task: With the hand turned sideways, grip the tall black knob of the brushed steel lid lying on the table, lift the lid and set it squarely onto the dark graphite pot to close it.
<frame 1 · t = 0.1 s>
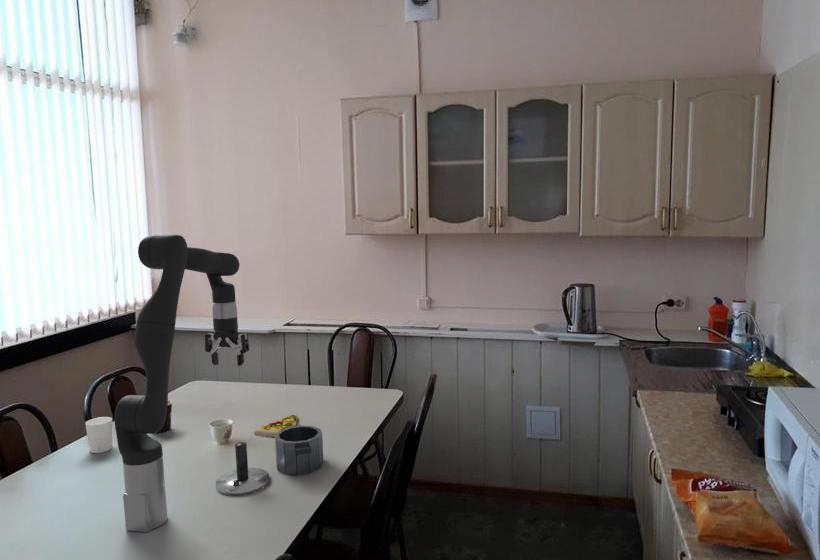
hand: (228, 365, 190), 29 cm above the table, tool pointing down, fingers open, 8 cm apart
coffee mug: (163, 429, 215), on the table
pizza slice: (284, 428, 215), on the table
white cup: (101, 449, 198), on the table
pot: (300, 464, 182), on the table
lid: (243, 483, 171), on the table
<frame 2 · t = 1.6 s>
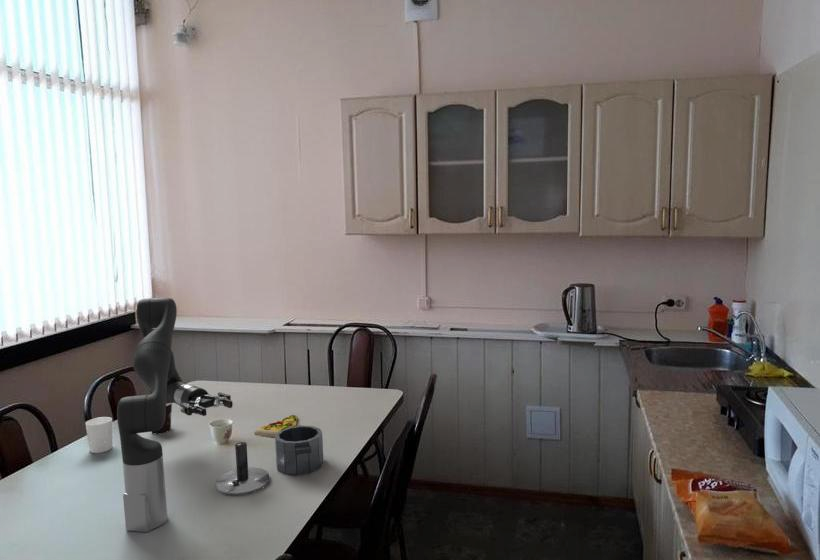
hand: (218, 408, 175), 20 cm above the table, tool horizontal, fingers open, 8 cm apart
nothing on the table moved.
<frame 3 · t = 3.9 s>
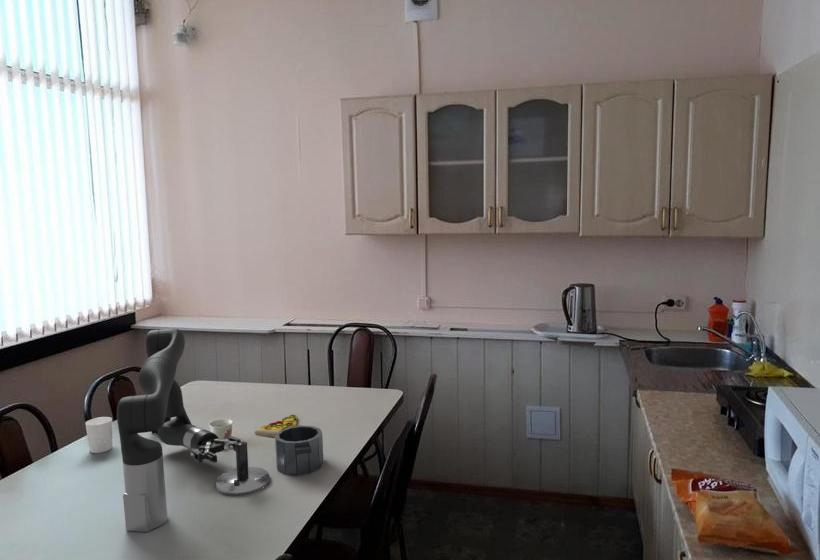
hand: (229, 454, 174), 7 cm above the table, tool horizontal, fingers open, 8 cm apart
nothing on the table moved.
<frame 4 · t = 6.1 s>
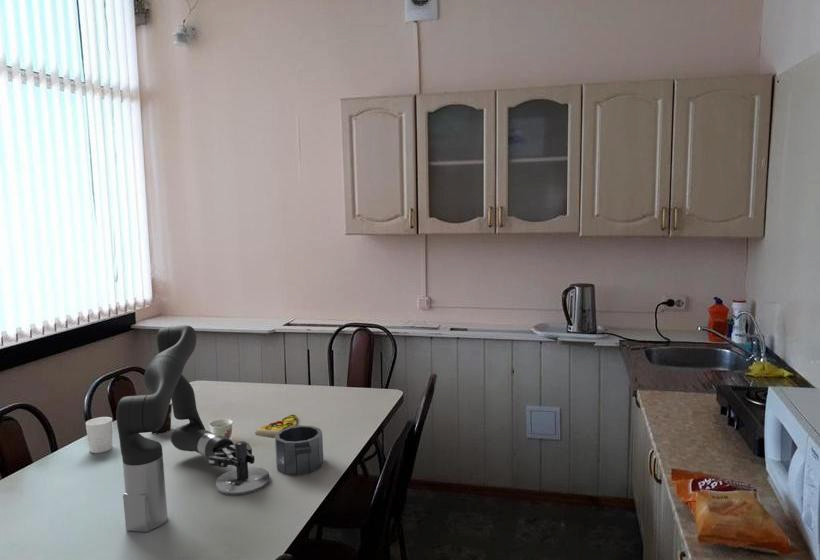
hand: (247, 462, 168), 7 cm above the table, tool horizontal, fingers closed on lid, 3 cm apart
lid: (243, 483, 171), on the table, touching gripper
everything else where it was.
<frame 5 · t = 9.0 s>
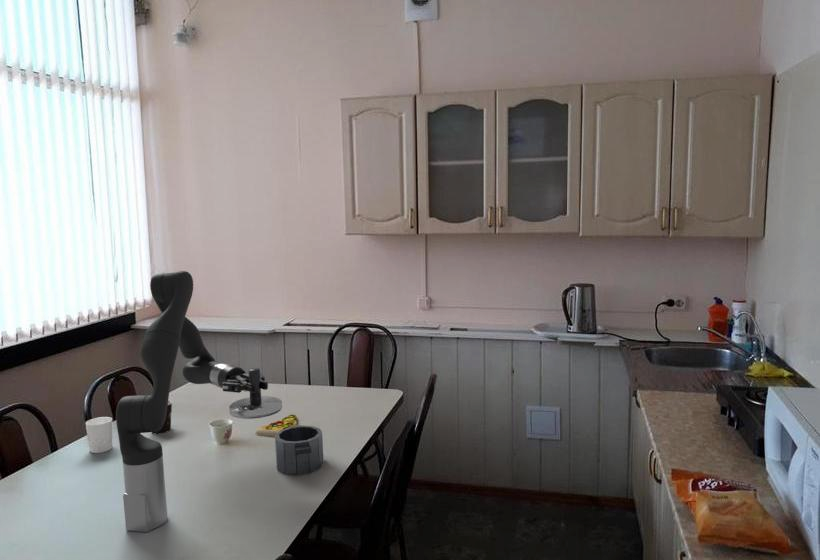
hand: (261, 387, 169), 28 cm above the table, tool horizontal, fingers closed on lid, 3 cm apart
lid: (256, 409, 172), point 21 cm above the table, touching gripper
everything else where it was.
when the fingers open (18 cm above the table, at t = 11.9 s): lid stays where it is, resting on pot.
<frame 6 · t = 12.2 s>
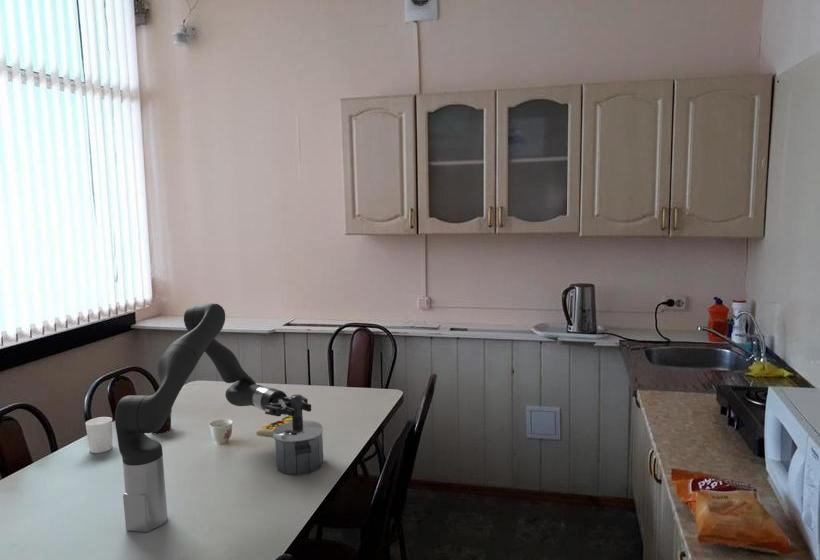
hand: (302, 410, 178), 18 cm above the table, tool horizontal, fingers open, 5 cm apart
lid: (298, 433, 181), point 10 cm above the table, touching pot
everything else where it was.
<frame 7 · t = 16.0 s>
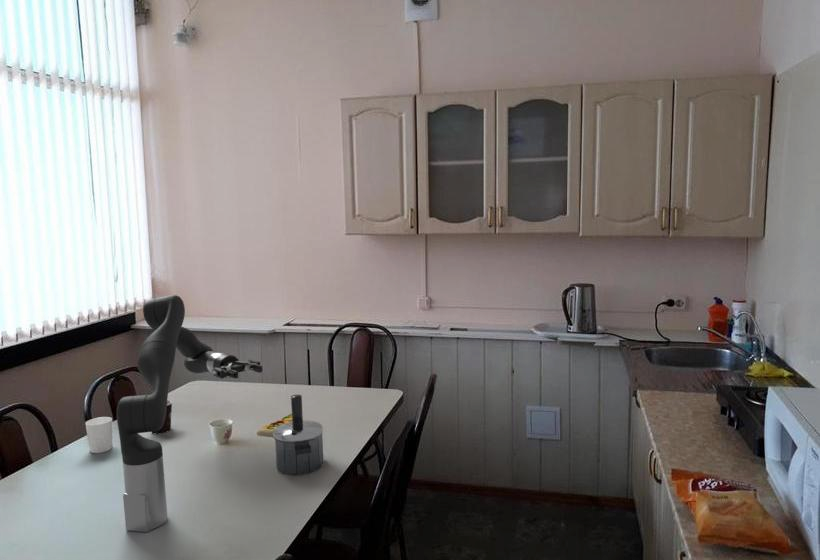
hand: (249, 372, 184), 28 cm above the table, tool horizontal, fingers open, 8 cm apart
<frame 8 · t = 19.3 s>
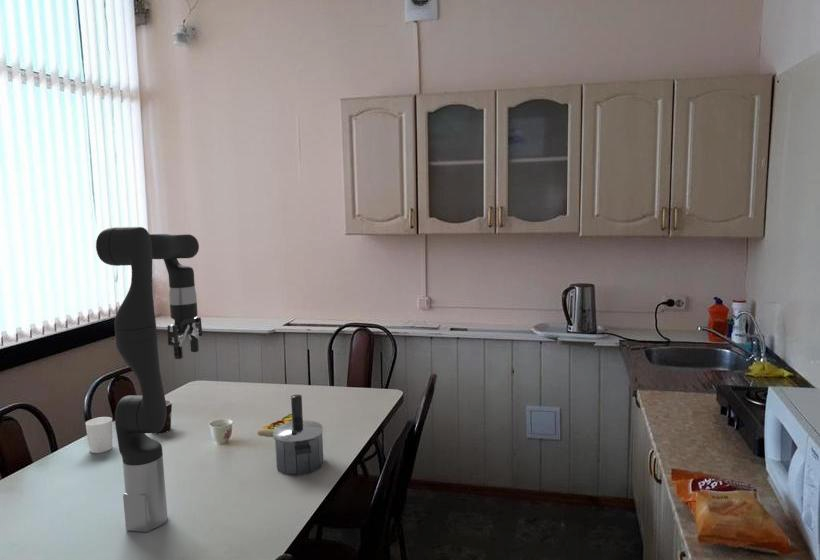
hand: (187, 355, 176), 36 cm above the table, tool pointing down, fingers open, 8 cm apart
at the end: lid 0.2 cm off-centre on the pot, point 10.0 cm above the pot's base; lid tilted 0°; the gripper is holding nothing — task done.
